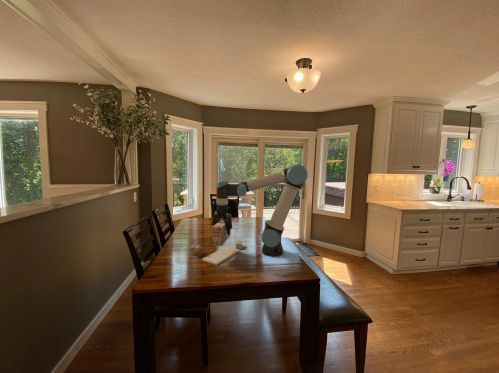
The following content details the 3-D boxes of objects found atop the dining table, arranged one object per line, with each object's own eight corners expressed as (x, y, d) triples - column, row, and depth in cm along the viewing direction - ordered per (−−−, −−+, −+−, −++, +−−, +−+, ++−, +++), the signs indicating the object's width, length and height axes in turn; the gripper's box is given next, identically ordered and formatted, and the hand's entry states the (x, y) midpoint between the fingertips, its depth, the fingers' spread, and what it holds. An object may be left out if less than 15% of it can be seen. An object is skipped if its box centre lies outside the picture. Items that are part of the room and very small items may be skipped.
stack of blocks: (222, 234, 164) (222, 218, 163) (230, 235, 163) (230, 218, 162) (212, 245, 143) (212, 226, 142) (222, 246, 142) (222, 227, 141)
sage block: (242, 245, 173) (242, 240, 173) (241, 249, 166) (241, 244, 166) (236, 245, 173) (236, 240, 173) (236, 249, 166) (236, 243, 166)
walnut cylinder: (206, 255, 154) (206, 247, 153) (201, 258, 150) (201, 249, 149) (201, 254, 156) (201, 245, 155) (196, 256, 152) (196, 247, 151)
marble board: (240, 251, 162) (240, 249, 162) (216, 265, 140) (216, 263, 140) (226, 247, 168) (226, 246, 168) (202, 260, 146) (202, 258, 146)
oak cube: (200, 252, 159) (200, 245, 158) (196, 255, 154) (196, 248, 154) (193, 251, 160) (193, 244, 160) (190, 254, 156) (189, 247, 155)
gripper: (238, 205, 148) (237, 239, 150) (213, 201, 159) (213, 233, 161) (231, 206, 142) (231, 242, 144) (206, 203, 152) (206, 236, 155)
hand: (222, 237), depth 153 cm, fingers closed on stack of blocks, 8 cm apart
